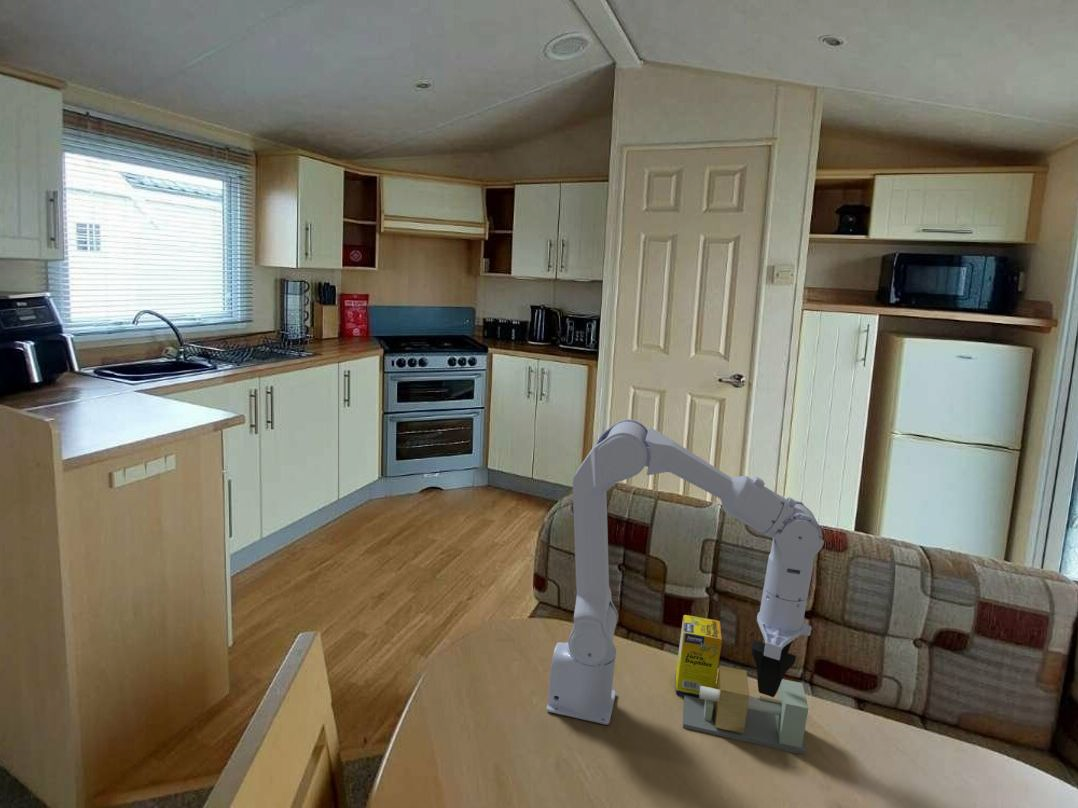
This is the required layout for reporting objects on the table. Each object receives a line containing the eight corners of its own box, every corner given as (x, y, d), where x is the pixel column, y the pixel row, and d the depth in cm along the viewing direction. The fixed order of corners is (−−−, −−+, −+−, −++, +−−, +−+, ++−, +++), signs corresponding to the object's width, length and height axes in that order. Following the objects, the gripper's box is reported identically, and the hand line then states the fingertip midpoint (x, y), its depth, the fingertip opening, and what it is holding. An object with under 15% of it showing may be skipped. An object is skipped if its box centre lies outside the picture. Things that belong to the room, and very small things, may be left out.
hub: (715, 727, 95) (720, 689, 93) (714, 701, 100) (719, 665, 99) (743, 733, 94) (749, 695, 92) (740, 706, 100) (746, 670, 98)
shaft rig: (682, 727, 95) (688, 685, 94) (684, 698, 102) (689, 658, 101) (805, 754, 92) (812, 711, 90) (798, 722, 98) (805, 681, 97)
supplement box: (713, 702, 102) (723, 639, 99) (675, 695, 103) (683, 632, 101) (711, 680, 107) (720, 620, 105) (675, 673, 108) (682, 613, 106)
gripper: (812, 623, 81) (795, 718, 84) (820, 578, 94) (805, 662, 97) (754, 606, 84) (739, 699, 87) (769, 565, 97) (756, 647, 100)
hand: (770, 679), depth 92 cm, fingers open, 7 cm apart
